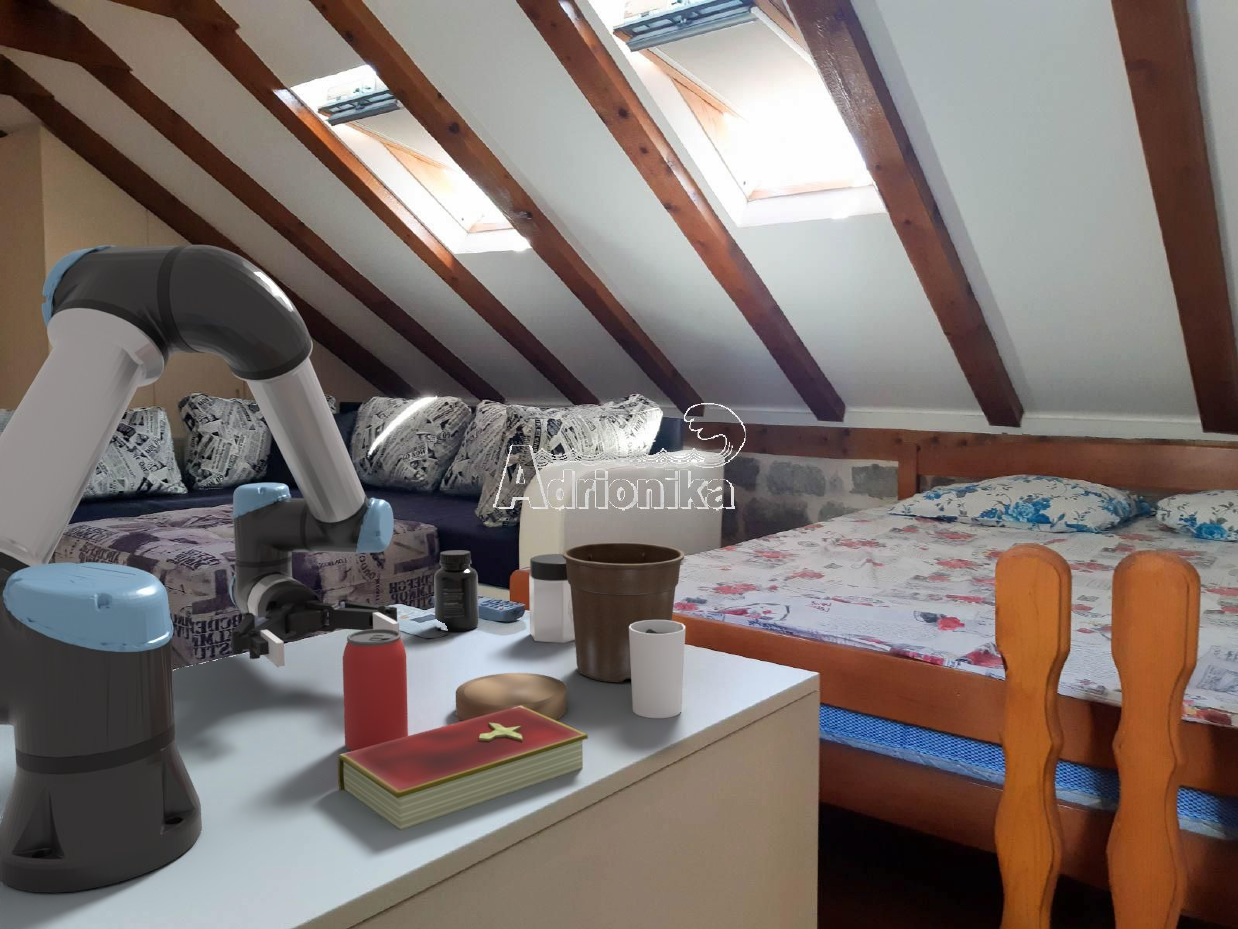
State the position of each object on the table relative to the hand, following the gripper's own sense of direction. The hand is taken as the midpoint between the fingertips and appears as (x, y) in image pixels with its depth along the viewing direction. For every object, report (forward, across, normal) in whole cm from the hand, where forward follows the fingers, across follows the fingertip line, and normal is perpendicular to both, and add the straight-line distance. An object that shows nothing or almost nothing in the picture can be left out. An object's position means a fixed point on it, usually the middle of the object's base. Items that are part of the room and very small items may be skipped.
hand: (340, 644), depth 110 cm
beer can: (+11, 0, -9) cm, 14 cm away
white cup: (+20, -31, -9) cm, 38 cm away
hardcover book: (+24, -4, -9) cm, 26 cm away
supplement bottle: (-29, -29, -9) cm, 42 cm away
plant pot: (+5, -37, -9) cm, 38 cm away
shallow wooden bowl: (+10, -17, -9) cm, 21 cm away
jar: (-15, -39, -9) cm, 43 cm away
